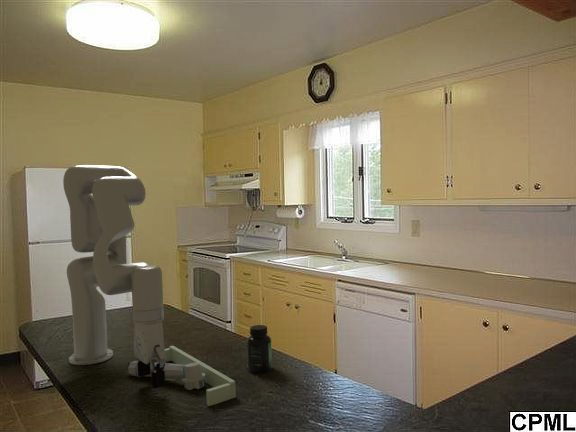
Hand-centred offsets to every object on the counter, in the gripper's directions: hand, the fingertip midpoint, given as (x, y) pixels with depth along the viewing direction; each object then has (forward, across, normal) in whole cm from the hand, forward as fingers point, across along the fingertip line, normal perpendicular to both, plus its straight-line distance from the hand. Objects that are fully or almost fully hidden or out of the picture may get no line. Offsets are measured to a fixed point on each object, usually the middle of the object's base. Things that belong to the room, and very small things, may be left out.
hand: (151, 381), depth 117 cm
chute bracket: (+2, 0, +10) cm, 11 cm away
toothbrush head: (+3, -3, +5) cm, 7 cm away
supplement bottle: (+3, +7, +29) cm, 30 cm away
